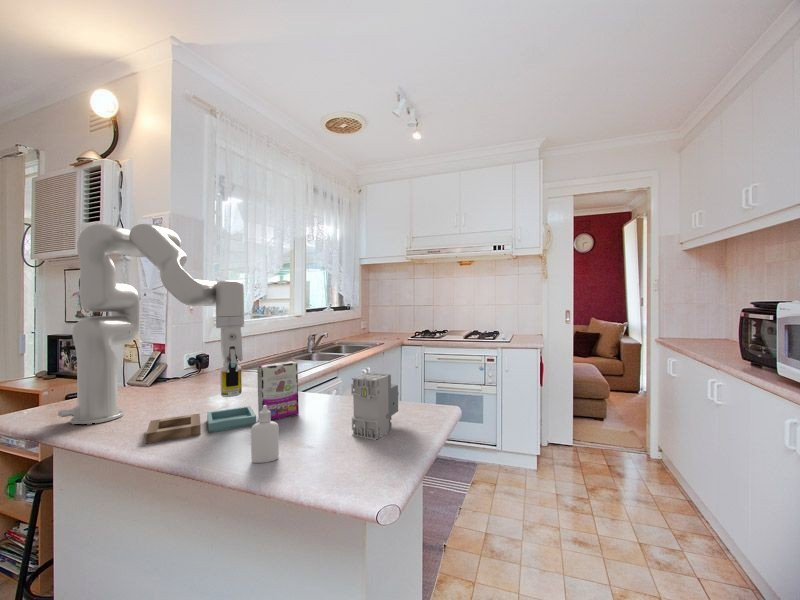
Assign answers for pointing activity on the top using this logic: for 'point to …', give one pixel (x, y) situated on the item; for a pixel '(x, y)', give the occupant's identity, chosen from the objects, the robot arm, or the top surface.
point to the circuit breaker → (373, 404)
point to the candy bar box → (278, 389)
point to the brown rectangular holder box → (173, 428)
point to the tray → (230, 419)
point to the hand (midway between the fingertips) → (231, 383)
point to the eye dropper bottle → (264, 438)
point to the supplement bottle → (230, 390)
